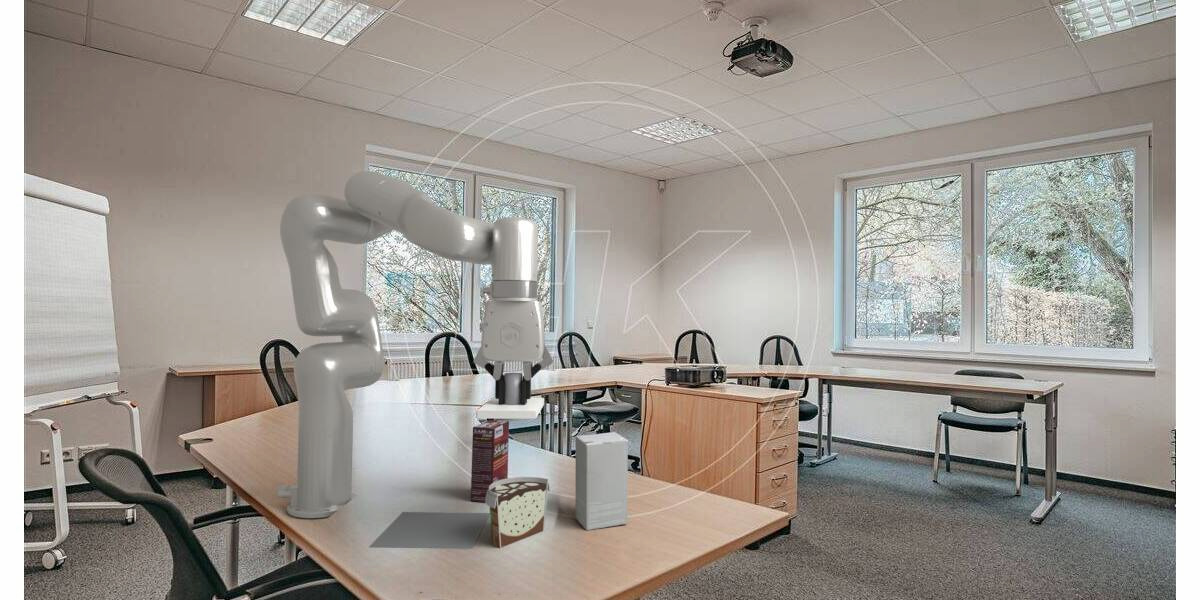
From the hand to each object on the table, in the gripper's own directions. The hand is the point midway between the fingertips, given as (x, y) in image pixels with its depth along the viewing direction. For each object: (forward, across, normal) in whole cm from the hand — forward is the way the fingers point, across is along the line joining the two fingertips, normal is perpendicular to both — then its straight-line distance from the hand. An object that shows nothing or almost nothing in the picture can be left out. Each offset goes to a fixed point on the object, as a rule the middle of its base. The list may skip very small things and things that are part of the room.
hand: (513, 402), depth 98 cm
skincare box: (+24, +15, +10) cm, 30 cm away
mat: (+23, -13, +2) cm, 27 cm away
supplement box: (+23, -7, +20) cm, 32 cm away
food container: (+23, 0, 0) cm, 23 cm away
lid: (+1, 0, 0) cm, 1 cm away
